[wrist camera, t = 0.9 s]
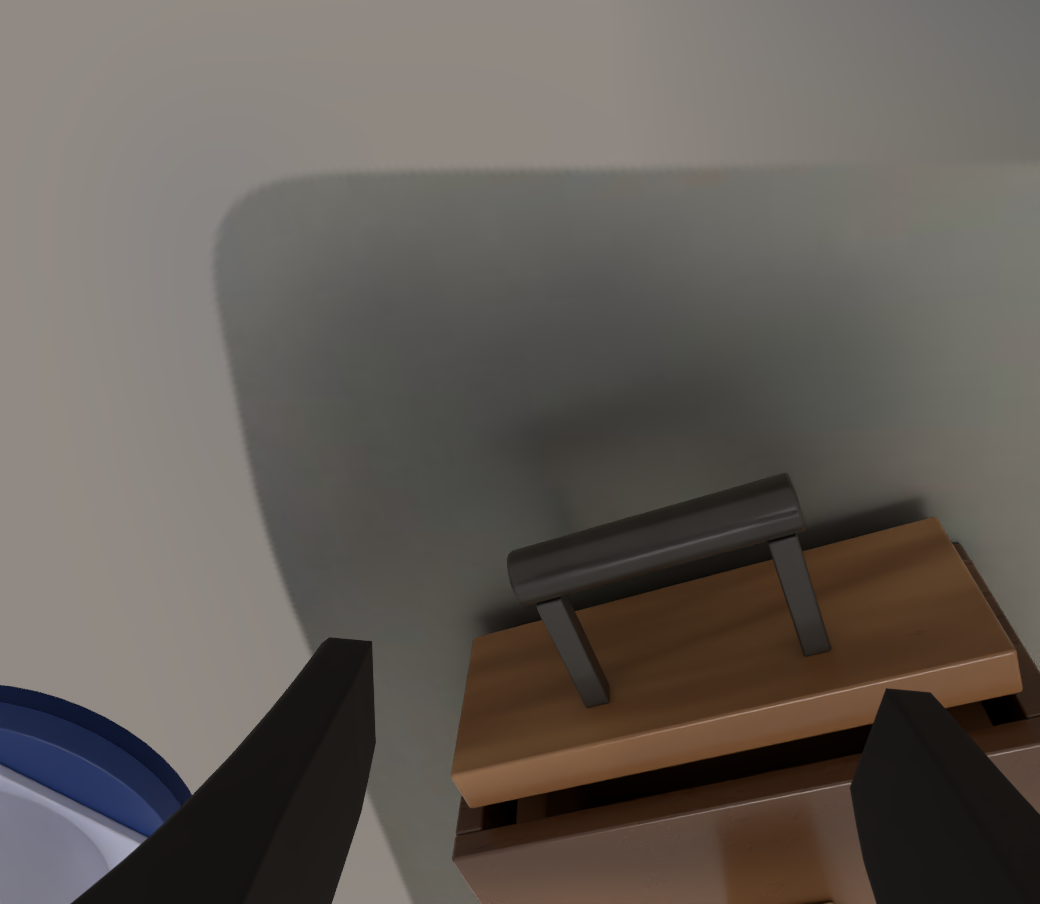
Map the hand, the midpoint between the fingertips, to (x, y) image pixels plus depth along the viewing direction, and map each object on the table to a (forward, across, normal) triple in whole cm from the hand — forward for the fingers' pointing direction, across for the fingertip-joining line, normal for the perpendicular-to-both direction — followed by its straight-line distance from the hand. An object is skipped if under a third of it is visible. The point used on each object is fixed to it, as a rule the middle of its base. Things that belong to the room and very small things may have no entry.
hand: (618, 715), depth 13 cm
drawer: (+9, -4, +8) cm, 13 cm away
